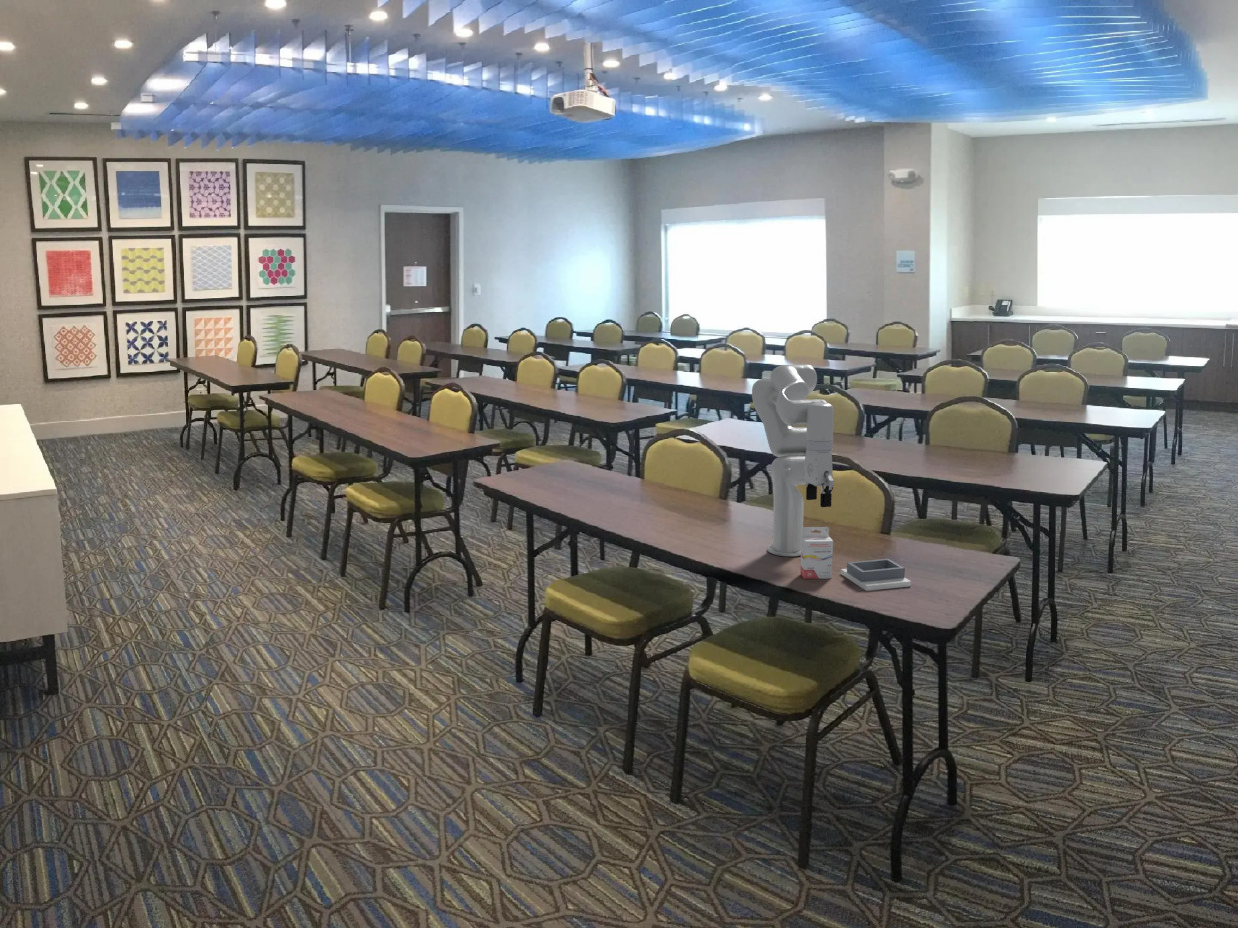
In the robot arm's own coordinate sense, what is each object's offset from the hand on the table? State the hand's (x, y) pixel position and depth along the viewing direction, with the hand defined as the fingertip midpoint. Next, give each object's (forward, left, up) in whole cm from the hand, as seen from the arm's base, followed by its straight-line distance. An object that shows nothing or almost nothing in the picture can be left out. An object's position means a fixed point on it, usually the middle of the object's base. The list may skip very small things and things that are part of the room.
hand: (818, 503), depth 281 cm
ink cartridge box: (0, 0, -23) cm, 23 cm away
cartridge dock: (+8, +15, -23) cm, 28 cm away
